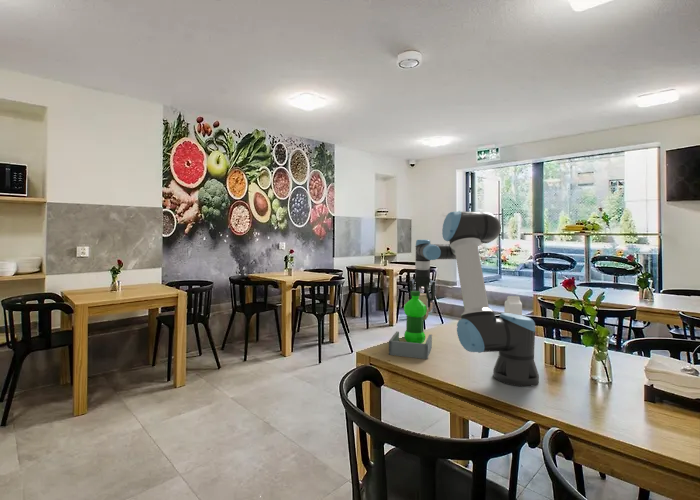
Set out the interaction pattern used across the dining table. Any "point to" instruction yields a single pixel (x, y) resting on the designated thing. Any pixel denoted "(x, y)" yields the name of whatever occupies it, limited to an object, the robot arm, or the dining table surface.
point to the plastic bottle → (415, 319)
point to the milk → (513, 305)
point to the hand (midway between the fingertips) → (421, 312)
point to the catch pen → (409, 347)
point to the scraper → (424, 298)
